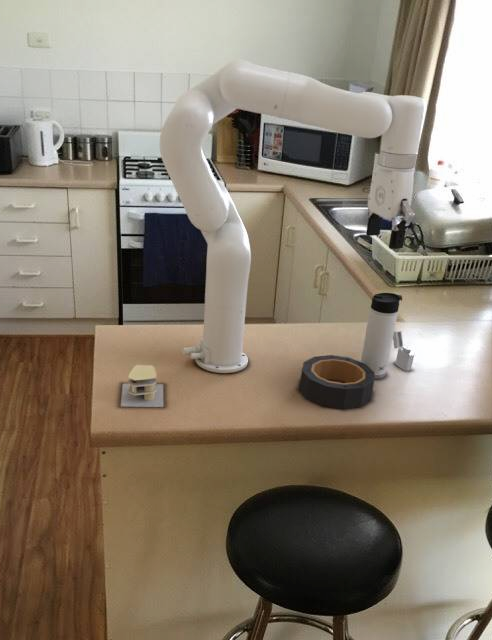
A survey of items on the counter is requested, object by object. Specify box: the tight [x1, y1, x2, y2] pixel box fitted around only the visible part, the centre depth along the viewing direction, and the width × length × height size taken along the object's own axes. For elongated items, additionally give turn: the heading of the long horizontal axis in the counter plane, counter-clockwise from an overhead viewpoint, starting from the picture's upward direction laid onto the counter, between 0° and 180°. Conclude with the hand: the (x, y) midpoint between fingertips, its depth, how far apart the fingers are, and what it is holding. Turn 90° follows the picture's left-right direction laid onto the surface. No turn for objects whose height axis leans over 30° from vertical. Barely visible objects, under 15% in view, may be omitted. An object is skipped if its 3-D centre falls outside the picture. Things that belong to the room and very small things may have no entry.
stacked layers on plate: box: [120, 364, 164, 408], centre depth 149 cm, size 10×9×6 cm
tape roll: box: [298, 354, 375, 410], centre depth 157 cm, size 16×16×5 cm
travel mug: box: [360, 292, 403, 380], centre depth 162 cm, size 6×7×20 cm
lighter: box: [392, 330, 415, 372], centre depth 170 cm, size 7×2×8 cm, turn 28°
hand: (383, 241), depth 153 cm, fingers open, 9 cm apart
